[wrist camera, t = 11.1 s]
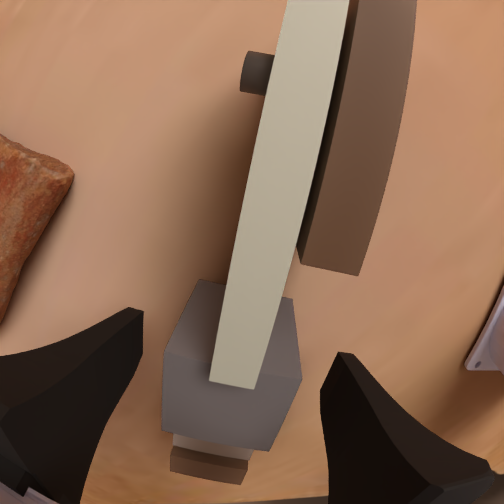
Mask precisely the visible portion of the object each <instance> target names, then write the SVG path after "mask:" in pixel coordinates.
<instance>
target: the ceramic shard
mask: <svg viewBox="0 0 504 504" xmlns="http://www.w3.org/2000/svg"><path fill="white" fill-rule="evenodd" d="M73 177H74V173H73V171H72V169H71V168H70V167H69V166H68V165H66V164H64V163H62V162H60V161H59V160H58V159H55V158H52V157H50V156H48V155H44V154H39V153H37V152H35V151H32V150H30V149H28V148H25V147H24V146H22V145H21V144H19V143H16V142H12V141H10V140H8V139H7V138H6V137H4V136H3V135H1V134H0V324H1V322H2V318H3V316H4V314H5V311H6V308H7V306H8V303H9V301H10V298H11V295H12V292H13V289H14V287H15V286H16V284H17V282H18V279H19V273H20V270H21V268H22V265H23V264H24V261H25V259H26V258H27V257H28V256H29V255H30V253H31V251H32V249H33V248H34V246H35V244H36V242H37V241H38V239H39V237H40V236H41V234H42V232H43V230H44V229H45V227H46V225H47V224H48V222H49V220H50V218H51V216H52V215H53V213H54V212H55V210H56V209H57V207H58V206H59V204H60V202H61V200H62V199H63V197H64V196H65V194H66V193H67V191H68V189H69V187H70V185H71V183H72V181H73Z"/></svg>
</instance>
